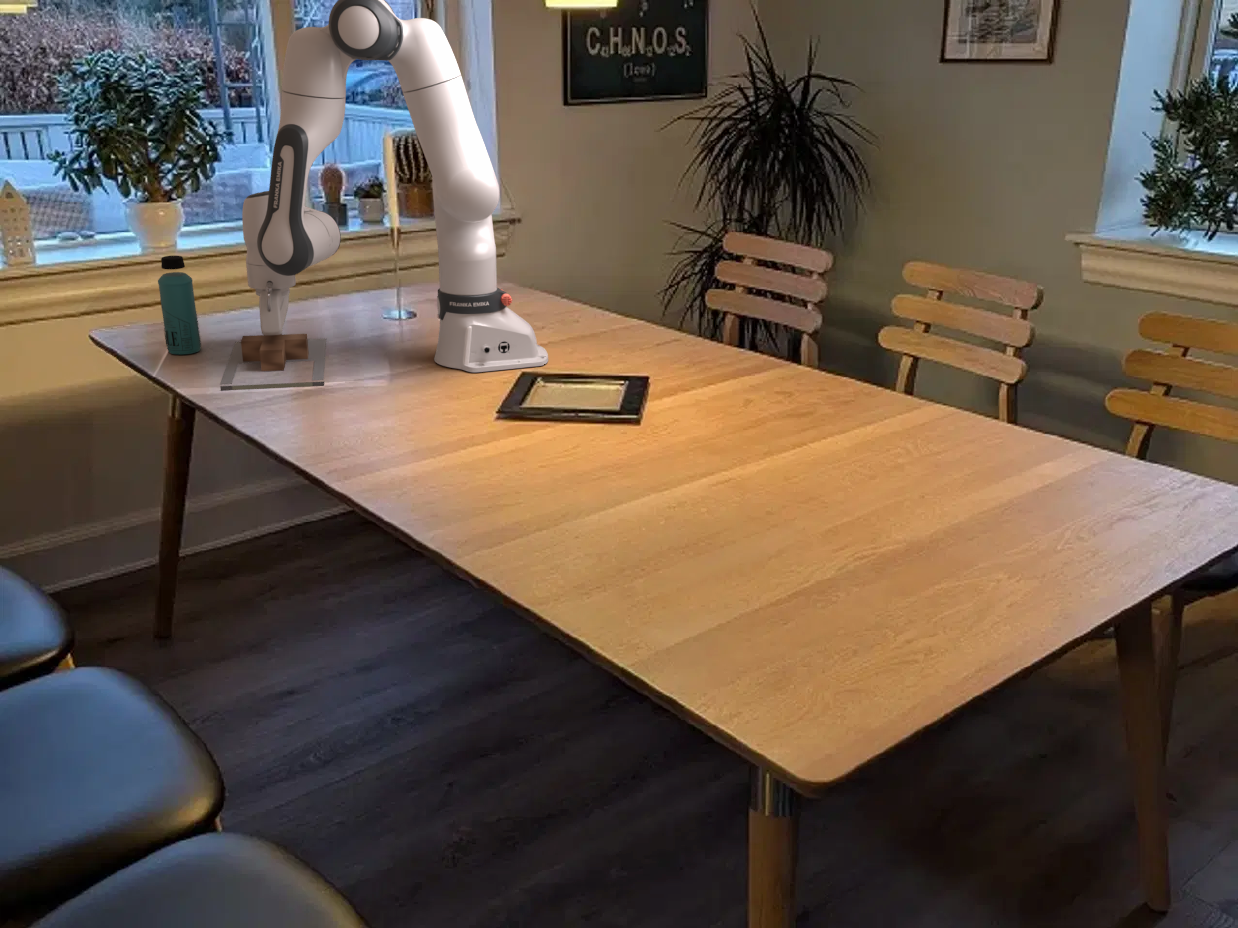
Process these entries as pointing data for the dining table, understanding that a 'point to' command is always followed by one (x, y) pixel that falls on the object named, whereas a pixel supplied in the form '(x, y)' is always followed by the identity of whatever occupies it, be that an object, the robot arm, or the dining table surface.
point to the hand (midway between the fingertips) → (277, 346)
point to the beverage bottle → (178, 308)
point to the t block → (274, 349)
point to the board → (315, 354)
